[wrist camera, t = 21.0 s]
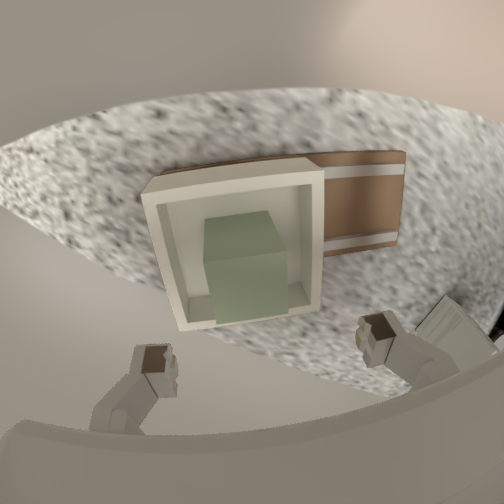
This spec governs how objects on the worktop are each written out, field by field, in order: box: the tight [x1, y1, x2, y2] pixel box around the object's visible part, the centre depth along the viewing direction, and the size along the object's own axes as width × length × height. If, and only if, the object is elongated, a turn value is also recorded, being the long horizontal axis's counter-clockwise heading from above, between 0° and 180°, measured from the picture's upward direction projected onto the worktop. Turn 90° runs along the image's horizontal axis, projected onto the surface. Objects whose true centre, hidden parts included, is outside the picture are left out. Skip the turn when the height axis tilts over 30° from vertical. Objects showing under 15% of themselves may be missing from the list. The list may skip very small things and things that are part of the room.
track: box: [161, 151, 406, 257], centre depth 26 cm, size 22×10×1 cm, turn 95°
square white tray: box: [140, 157, 324, 332], centre depth 22 cm, size 11×11×6 cm
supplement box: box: [415, 295, 500, 371], centre depth 32 cm, size 7×7×13 cm
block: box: [203, 210, 288, 324], centre depth 20 cm, size 4×4×6 cm
